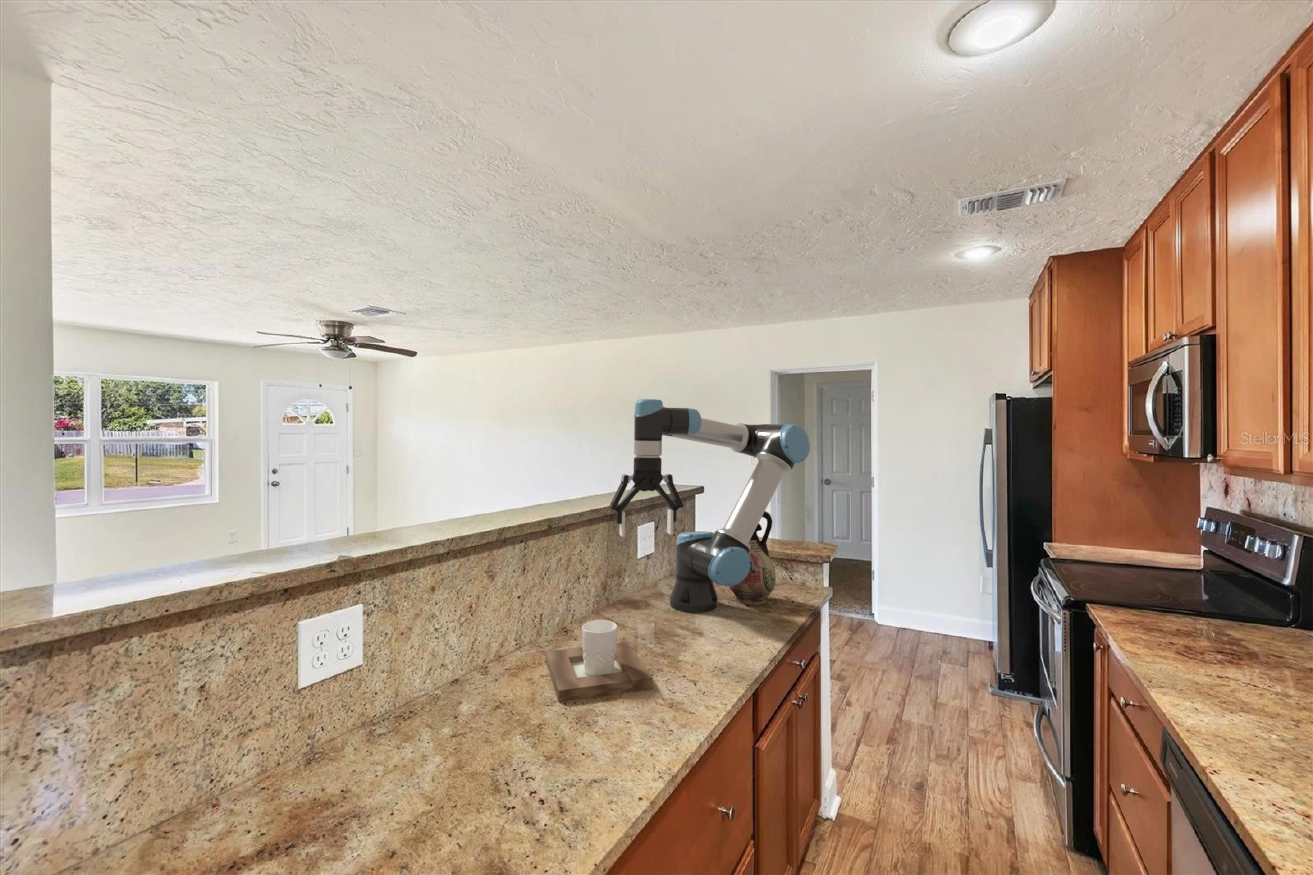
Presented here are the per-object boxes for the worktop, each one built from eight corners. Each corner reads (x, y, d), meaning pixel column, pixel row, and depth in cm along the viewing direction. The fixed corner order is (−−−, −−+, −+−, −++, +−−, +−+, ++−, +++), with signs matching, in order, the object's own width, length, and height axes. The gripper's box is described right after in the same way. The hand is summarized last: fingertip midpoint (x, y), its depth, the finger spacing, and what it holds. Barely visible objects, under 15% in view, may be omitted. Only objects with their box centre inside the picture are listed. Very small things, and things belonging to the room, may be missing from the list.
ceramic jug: (723, 606, 174) (725, 511, 173) (731, 592, 188) (732, 504, 188) (778, 612, 169) (780, 514, 168) (781, 597, 183) (784, 507, 183)
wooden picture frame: (627, 652, 137) (627, 642, 137) (652, 688, 118) (652, 677, 118) (545, 661, 131) (545, 651, 130) (558, 702, 112) (558, 690, 112)
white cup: (599, 681, 119) (600, 635, 119) (573, 671, 124) (574, 626, 124) (623, 669, 125) (624, 625, 125) (598, 659, 130) (598, 617, 130)
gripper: (685, 455, 157) (684, 530, 157) (599, 455, 148) (598, 534, 149) (695, 457, 149) (694, 535, 150) (605, 457, 141) (604, 539, 142)
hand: (646, 534), depth 149 cm, fingers open, 13 cm apart
